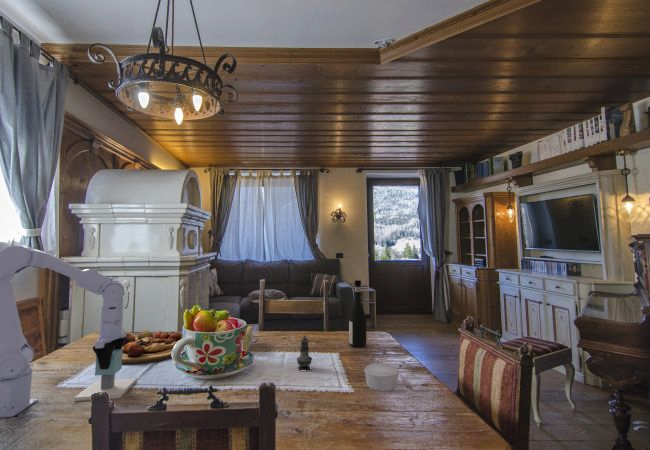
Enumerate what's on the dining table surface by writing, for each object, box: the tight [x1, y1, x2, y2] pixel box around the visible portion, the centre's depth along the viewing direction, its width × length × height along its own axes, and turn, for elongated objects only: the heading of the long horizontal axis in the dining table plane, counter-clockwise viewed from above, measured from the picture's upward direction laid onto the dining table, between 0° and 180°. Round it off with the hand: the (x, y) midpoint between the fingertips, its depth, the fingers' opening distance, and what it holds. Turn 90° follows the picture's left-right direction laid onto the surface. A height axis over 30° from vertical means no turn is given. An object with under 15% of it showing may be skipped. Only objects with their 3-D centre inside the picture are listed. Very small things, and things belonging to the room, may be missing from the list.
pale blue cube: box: [94, 349, 123, 377], centre depth 99 cm, size 5×5×6 cm
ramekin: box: [363, 363, 400, 392], centre depth 105 cm, size 11×11×5 cm
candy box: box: [243, 325, 253, 352], centre depth 143 cm, size 16×2×8 cm, turn 4°
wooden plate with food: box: [122, 329, 183, 364], centre depth 137 cm, size 32×32×8 cm
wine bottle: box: [348, 279, 367, 348], centre depth 150 cm, size 8×8×30 cm
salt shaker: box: [296, 335, 313, 372], centre depth 119 cm, size 6×6×12 cm
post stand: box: [73, 373, 137, 402], centre depth 99 cm, size 12×12×5 cm
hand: (108, 365), depth 99 cm, fingers closed on pale blue cube, 5 cm apart
